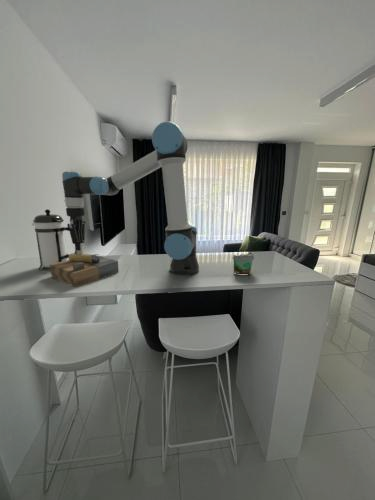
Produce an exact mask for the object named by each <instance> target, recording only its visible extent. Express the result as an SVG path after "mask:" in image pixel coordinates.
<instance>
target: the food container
mask: <svg viewBox="0 0 375 500" xmlns="http://www.w3.org/2000/svg"><path fill="white" fill-rule="evenodd" d="M254 256H255V255H254V254H253V253H252V252H251V251H249V253H247V254H239V255H235V254H233V256H232V260H233V274H234V273H236V274H249V273H250V274H251V271H252V266H253V265H252V264H253V261H254V259H255V257H254ZM250 274H249V275H250Z"/></svg>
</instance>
